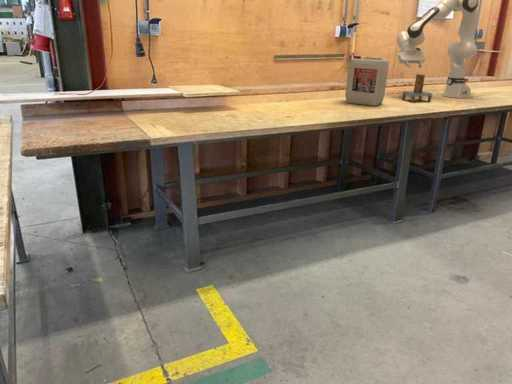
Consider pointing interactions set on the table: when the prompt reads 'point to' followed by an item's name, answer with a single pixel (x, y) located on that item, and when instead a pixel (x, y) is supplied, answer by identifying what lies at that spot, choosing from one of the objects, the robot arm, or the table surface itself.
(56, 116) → the table surface
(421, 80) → the walnut post
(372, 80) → the jerry can
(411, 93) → the step stool
